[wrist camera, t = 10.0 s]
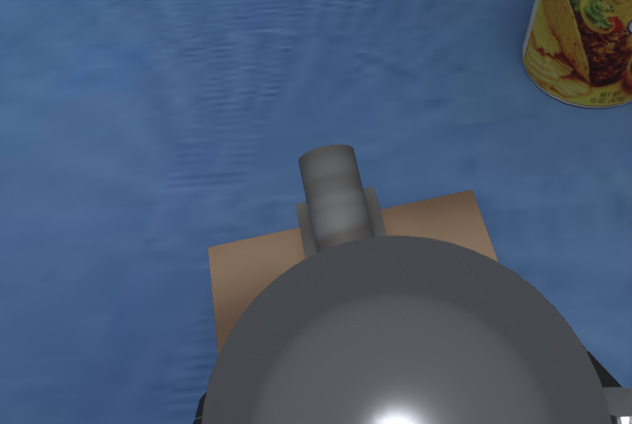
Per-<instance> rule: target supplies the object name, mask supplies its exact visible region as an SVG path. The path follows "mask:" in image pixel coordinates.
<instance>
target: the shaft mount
mask: <svg viewBox="0 0 632 424" xmlns="http://www.w3.org/2000/svg"><path fill="white" fill-rule="evenodd" d="M299 166H300V171H301V176H302V181H303V186H304V190H305V195H306V200H307V202H302V203H298V204H295V205H296V211H297V216H298V221H299V228H295V229H290V230H286V231H281V232H276V233H272V234H267V235H263V236H258V237H254V238H249V239H244V240H240V241H235V242H231V243H226V244H222V245H217V246H212V247H208V251H209V262H210V272H211V283H212V294H213V304H214V315H215V325H216V336H217V346H218V355H219V353H220V351H221V349H222V347H223V345H224V343H225V341H226V339H227V337H228V335H229V333H230V332H231V330H232V329H233V327H234V326H235V324H236V322H237V321H238V319H239V318H240V316H241V315H242V313H243V312H244V311H245V310H246V309H247V307H248V306H249V305H250V304H251V303H252V302H253V300H254V299H255V298H256V297H257V296H258V295H259V294H260V293H261V292H262V291H263V290H264V289H265V288H266V287H267V286H268V285H269V284H270V283H271V282H273V281H274V280H275V279H276V278H277V277H279V276H280V275H281V274H283V273H284V272H286V271H287V270H288V269H290V268H291V267H292V266H294V265H296V264H297V263H299V262H301V261H303V260H305V259H306V258H308V257H310V256H312V255H314V254H316V253H318V252H321V251H323V250H326V249H328V248H330V247H333V246H336V245H339V244H343V243H347V242H350V241H354V240H358V239H365V238H371V237H377V236H399V235H402V236H415V237H426V238H431V239H436V240H441V241H446V242H450V243H453V244H456V245H459V246H462V247H465V248H469V249H471V250H474V251H476V252H478V253H480V254H482V255H485V256H487V257H489V258H491V259H493V260H495V261H497V262H498V260H497V257H496V254H495V252H494V249H493V246H492V243H491V241H490V238H489V235H488V232H487V229H486V227H485V224H484V221H483V218H482V216H481V213H480V210H479V207H478V204H477V202H476V199H475V196H474V193H473V191H472V190H468V191H464V192H459V193H455V194H450V195H445V196H441V197H436V198H432V199H427V200H423V201H418V202H414V203H409V204H404V205H400V206H395V207H391V208H386V209H382V210H380V207H379V204H378V200H377V196H376V192H375V188H374V187H371V188H366V189H363V187H362V183H361V179H360V175H359V170H358V166H357V162H356V157H355V153H354V149H353V148H352V147H351V146H348V145H330V146H324V147H320V148H317V149H314V150H312V151H309V152H307V153H305V154H304V155H302V156H301V157H300V158H299Z"/></svg>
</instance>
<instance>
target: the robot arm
mask: <svg viewBox="0 0 632 424" xmlns="http://www.w3.org/2000/svg"><path fill="white" fill-rule="evenodd" d="M583 347H584V346H583ZM584 348H585V347H584ZM585 350H586V348H585ZM587 354H588V356H589V358H590V360H591V362H592V364H593V366H594V368H595V370H596V372H597V374H598V376H599V379H600V382H601V385H602V388H603V391H604V394H605V397H606V400H607V403H608V407H609V412H610V416H611V421H612V424H632V389H631V388H624V387H622V386H621V385H620V384H619V383H618V382H617V381H616V380H615V379H614V378H613V377H612V376H611V375H610V374H609V373H608V372H607V370H606V369H605V368H604V367H603V366H602V365H601V364H600V363H599V362H598V361H597V360H596V359H595V358H594V357H593V356H592V355H591V353H590V352H589V351H587ZM206 393H207V392H206ZM206 393H205V394H204V395H203V397H202V398H201V399H200V401H199V405H198V409H197V412H196V416H195V417H196V420H194V423H193V424H202V417H203V407H204V402H205V397H206Z"/></svg>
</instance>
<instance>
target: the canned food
mask: <svg viewBox="0 0 632 424" xmlns="http://www.w3.org/2000/svg"><path fill="white" fill-rule="evenodd" d="M522 58H523V64H524V67H525V69H526V72H527V74H528V76H529V77H530V78H531V80H532V81H533V82H534V83H535V85H536V86H537V87H538V88H540V89H541V90H542V91H544V92H545V93H546V94H548V95H549V96H550V97H553V98H555V99H557V100H559V101H561V102H564V103H566V104H570V105H574V106H578V107H583V108H601V109H604V108H610V107H616V106H621V105H624V104H626V103H629V102H631V101H632V0H535V1H534V5H533V9H532V13H531V17H530V20H529V24H528V28H527V32H526V36H525V40H524V44H523V48H522Z"/></svg>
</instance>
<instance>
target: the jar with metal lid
mask: <svg viewBox="0 0 632 424" xmlns="http://www.w3.org/2000/svg"><path fill="white" fill-rule="evenodd" d="M202 424H612V421H611V416H610V412H609V407H608V403H607V400H606V397H605V394H604V391H603V388H602V385H601V382H600V379H599V376H598V374H597V372H596V370H595V368H594V366H593V364H592V362H591V360H590V358H589V356H588V354H587V351H586V350H585V348H584V347H583V345H582V343H581V342H580V340H579V339H578V337H577V336H576V334H575V333H574V331H573V329H572V328H571V327H570V325H569V324H568V323H567V322H566V320H565V319H564V318H563V317H562V315H561V314H560V313H559V312H558V311H557V309H556V308H555V307H554V306H553V305H552V304H551V303H550V302H549V301H548V300H547V299H546V298H545V297H544V296H543V295H542V294H541V293H540V292H539V291H538V290H537V289H536V288H534V287H533V286H532V285H531V284H529V283H528V282H527V281H525V280H524V279H523V278H521V277H520V276H519V275H518V274H516V273H515V272H513V271H512V270H510V269H508V268H507V267H505V266H503V265H502V264H500V263H498V262H497V261H495V260H493V259H491V258H489V257H487V256H485V255H482V254H480V253H478V252H476V251H474V250H471V249H469V248H465V247H462V246H459V245H456V244H453V243H450V242H446V241H441V240H436V239H431V238H426V237H415V236H402V235H399V236H377V237H371V238H365V239H358V240H354V241H350V242H347V243H343V244H339V245H336V246H333V247H330V248H328V249H326V250H323V251H321V252H318V253H316V254H314V255H312V256H310V257H308V258H306V259H305V260H303V261H301V262H299V263H297V264H296V265H294V266H292V267H291V268H290V269H288V270H287V271H286V272H284V273H283V274H281V275H280V276H279V277H277V278H276V279H275V280H274V281H273V282H271V283H270V284H269V285H268V286H267V287H266V288H265V289H264V290H263V291H262V292H261V293H260V294H259V295H258V296H257V297H256V298H255V299H254V300H253V302H252V303H251V304H250V305H249V306H248V307H247V309H246V310H245V311H244V312H243V313H242V315H241V316H240V318H239V319H238V321H237V322H236V324H235V326H234V327H233V329H232V330H231V332H230V333H229V335H228V337H227V339H226V341H225V343H224V345H223V347H222V349H221V351H220V353H219V355H218V357H217V360H216V363H215V366H214V369H213V371H212V374H211V377H210V380H209V384H208V389H207V393H206V397H205V402H204V407H203V417H202Z"/></svg>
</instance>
